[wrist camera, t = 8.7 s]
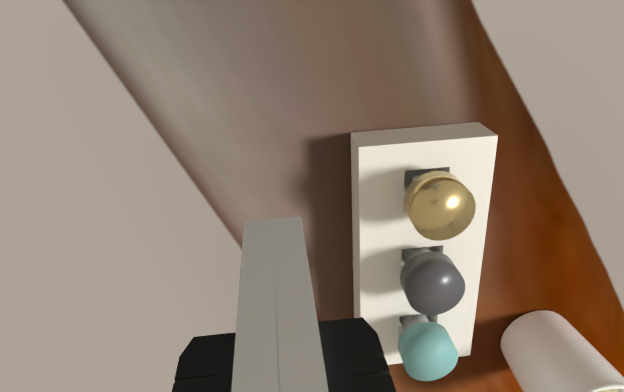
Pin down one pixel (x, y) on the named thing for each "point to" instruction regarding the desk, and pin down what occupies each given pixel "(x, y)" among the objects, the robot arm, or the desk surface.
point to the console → (400, 231)
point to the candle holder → (555, 357)
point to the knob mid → (430, 281)
